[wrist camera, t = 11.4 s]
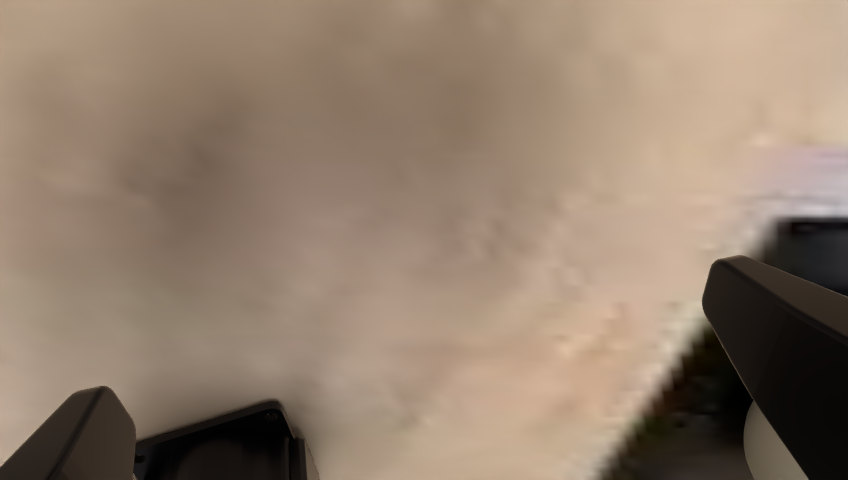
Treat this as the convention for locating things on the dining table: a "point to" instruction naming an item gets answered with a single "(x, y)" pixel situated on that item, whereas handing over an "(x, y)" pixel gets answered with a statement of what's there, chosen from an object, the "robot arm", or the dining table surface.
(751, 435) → the glass bottle
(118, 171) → the dining table surface
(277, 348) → the dining table surface
